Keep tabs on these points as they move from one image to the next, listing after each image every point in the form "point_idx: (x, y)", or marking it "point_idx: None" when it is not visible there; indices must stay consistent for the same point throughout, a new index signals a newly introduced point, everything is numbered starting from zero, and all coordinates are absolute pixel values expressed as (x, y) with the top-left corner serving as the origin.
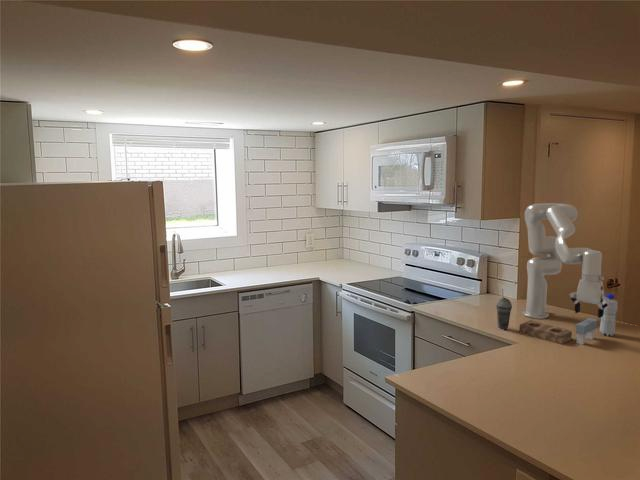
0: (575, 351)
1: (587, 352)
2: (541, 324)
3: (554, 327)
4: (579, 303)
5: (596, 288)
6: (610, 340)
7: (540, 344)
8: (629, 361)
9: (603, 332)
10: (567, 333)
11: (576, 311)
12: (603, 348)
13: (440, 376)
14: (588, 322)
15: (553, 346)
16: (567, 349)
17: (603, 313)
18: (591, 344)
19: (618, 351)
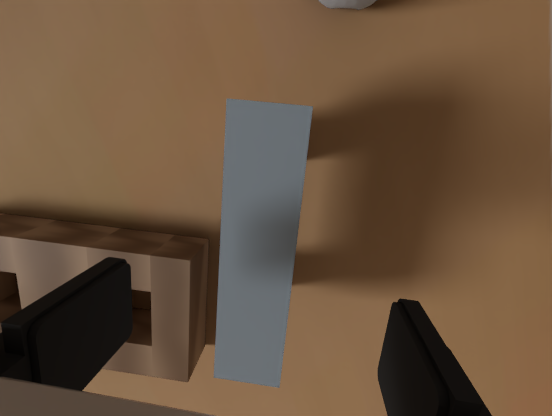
0: (288, 388)
1: (335, 368)
2: (7, 263)
3: (86, 266)
4: (14, 329)
5: None
6: (395, 90)
7: (142, 396)
8: (531, 363)
9: (335, 6)
10: (189, 315)
11: (116, 348)
12: (387, 267)
13: None
14: (271, 269)
15: (192, 387)
16: (252, 385)
17: (456, 360)
18: (319, 248)
19: (466, 261)
